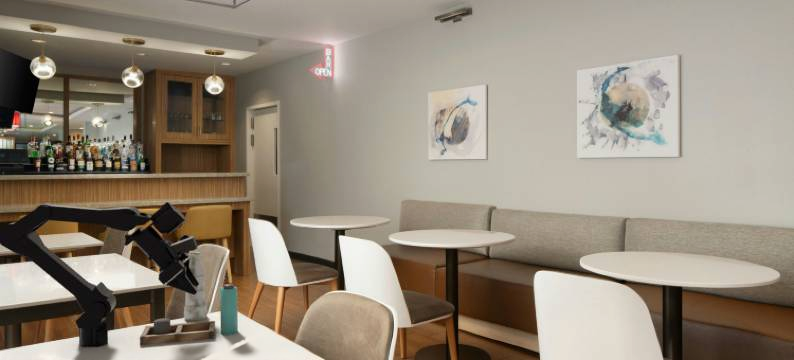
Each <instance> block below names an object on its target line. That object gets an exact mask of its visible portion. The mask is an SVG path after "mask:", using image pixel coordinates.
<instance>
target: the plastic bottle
mask: <svg viewBox="0 0 794 360" xmlns="http://www.w3.org/2000/svg"><path fill="white" fill-rule="evenodd" d="M187 254H188V255H189V257H188V258H187V259H189V258H190V264H189V267H190V269H191V270H192V272H193V274H194V276H195V277H196V279H197V281H198V282H199V285H198V286H197V287H195V286H194V288H195V289H196V291H197V293H196V294H195V295H193V294H190V293H187V292H185V302H184V307H183V318H184V320H185V321H189V322H198V321H199V322H200V321H202V320H205V319H207V316H208V306H207V303H206V295H205V292H206V290H205V289H206V278H207V269H206V266H205V265H204V264H203V263H202V259H203V258H202V253H201V252H190V253H189V252H188V253H187Z"/></svg>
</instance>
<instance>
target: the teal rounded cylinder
mask: <svg viewBox="0 0 794 360" xmlns="http://www.w3.org/2000/svg"><path fill="white" fill-rule="evenodd" d="M219 291H220V292H219V293H220V294H219V295H220V297H219V304H220V308H219V310H220V311H219V313H220V335H224V336H228V335H229V336H230V335H236V334H237V333H238V325H239V324H238V317H239V316H238V287H237V286H235V284H233V283H226V284H223V286H222V287H220V288H219Z"/></svg>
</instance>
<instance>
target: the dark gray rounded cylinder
mask: <svg viewBox="0 0 794 360" xmlns="http://www.w3.org/2000/svg"><path fill="white" fill-rule="evenodd" d="M170 324H171V319H170V318H165V317H164V318H163V317H162V318H158V319H154V321H153V326H154V335H157V334H169V333H171V330H170Z"/></svg>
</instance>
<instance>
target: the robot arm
mask: <svg viewBox="0 0 794 360" xmlns="http://www.w3.org/2000/svg"><path fill="white" fill-rule="evenodd" d="M49 221H51V222H52V221H53V222H67V223H78V224H79V223H80V224H92V225H100V226H104V227H107V228H109V229H113V230H117V231H122V232H130V231H132V233H126V234H125V235H124V238H125V240H124V246H125V247H127V246H128V245H130V244H131V243H135V245H136V246H137V247H138V248H139V249H140V250H141V251H142V252H143V253H144V254H145V255H146V256H147V260H148V261H149V262H150V261H152V263H154V264H155V265H156V266H157V267H158V271H159V273H158V281H159V282H160V283H161V284H163V285H164V286H165V285H166V286H167V287H168V286H169V287H172V288H174V289H177V290H180V291H183V292H185V293H186V292H187V293H190V294H193V295H195V294H196V293H197V291H196V289H195V288H194V286H195V287H197V286H198V285H199V282H198V281H197V279H196V277H195V276H194V274H193V272H192V270H191V269H190V267H189V264H190V258H189V259H188V257H189V255H188V254H189V252H192V251H196V250H197V249H198V247H199V246H198V243H197V240H196V238H195V236H194V235H191V236H190V235H189V234H188V233H185V234H183V235H181V236H180V240H177V242H174V243H173V242H171V240H166V239H165V238H164V237H163V236H162V235H164V234H167V235H171V233H173V232H174V231H175V230H177V228H179V227H180V226H181V225H182V224H184V223H185V222H186V221H187V219H186V216H185V215H184V214H183V213H182V212H181V210H179V209H177V207H175V206H174V205H173V204H171V203H170V202H169V201H166V202H165V203H164V204H163V205H161V207H160V208H159V209H157V211H155V212H154V213H153V214H152V213H150V212H149V213H147V212H142V211H139V209H138V208H137V207H135V206H121V207H120V206H118V207H108V208H95V207H86V206H72V205H60V204H53V203H49V202H47V203H43V204H39V205H38V206H36V208H34V209H33V210H32V211H30V212H29V213H28V214H26V215H24V216H23V217H21V218H19V219H18V220H17V221H14V222H11V223H8V224H4V225H3V226H1V227H0V246H2V247H4V248H5V249H7V250H9V251H11V252H12V253H15V254H17V255H19V256H23V257H24V258H27V259H29V260H30V261H31V262H32V263H34V264H35V265H36V266H38V267H39V269H41V270H42V271H43V272H45V273H46V274H47V275H49V277H50V278H52V279H53V280H55V282H57V283H58V284H59V285H60V286H62V287H63V288H64V289H65V290H66V291H68V292H69V293H70V294H71V295H72V296H73V297H74V298H75V299H76V302H77V303H78V305H79V307H80V309H81V310H83V312H82V313H81V314H80V316H78V317H77V318H76V319H75V324H76V326H77V328H78V338H79V340H78V341H79V342H78V344H79V345H80V346H81V347H82V348H100V347H103V346H106V345H108V344H109V329H108V322H106V320H105V319H106V318H107V317H108V316H109V315H110V313H111V312H112V311H113V310H114V309H115V307H116V305H117V298H116V297H115V295H114V290H112V289H110V288H109V287H107V286H106V285H105V284H104V283H103V281H100V282H99V283H98V284H94V283H91V282H89V281H88V280H87V279H86V278H84V277H83V276H82V275H80V273H78V272H77V271H76V270H74V268H73V267H71V266H70V265H69V264H68V263H67V262H65V261H64V260H63V259H61V258H60V257H59V256H58V255H57V254H55V252H53V251H52V250H51V249H50V248H48V247H47V246H46V245H45V244H44V242H43V240H42V239H41V236H40V235H39V233H38V232H37V231H38V230H39V229H40V228H41V227H42V226H44V225H45V224H46V223H48V222H49ZM150 221H151V223H149V222H150ZM147 223H149V225H148V226H146V227H144V228H143V227H142V226H145V225H146V224H147ZM138 226H141V227H138ZM136 227H138V228H137V229H135V228H136ZM134 229H135V230H134ZM133 230H134V232H133ZM161 234H162V235H161Z"/></svg>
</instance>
